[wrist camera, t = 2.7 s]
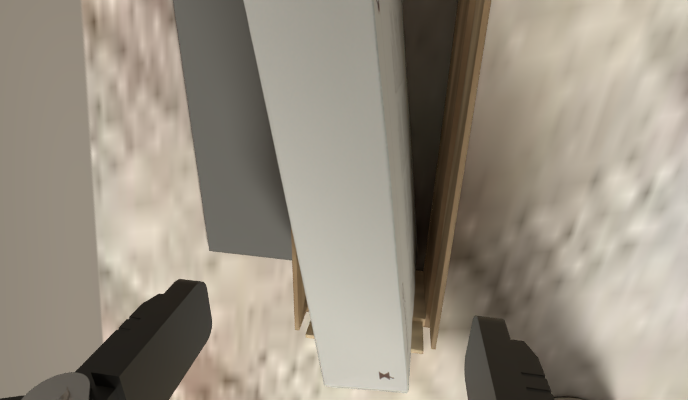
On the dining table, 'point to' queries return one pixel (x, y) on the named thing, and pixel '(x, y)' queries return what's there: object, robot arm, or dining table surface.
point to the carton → (437, 177)
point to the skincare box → (345, 176)
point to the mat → (231, 131)
